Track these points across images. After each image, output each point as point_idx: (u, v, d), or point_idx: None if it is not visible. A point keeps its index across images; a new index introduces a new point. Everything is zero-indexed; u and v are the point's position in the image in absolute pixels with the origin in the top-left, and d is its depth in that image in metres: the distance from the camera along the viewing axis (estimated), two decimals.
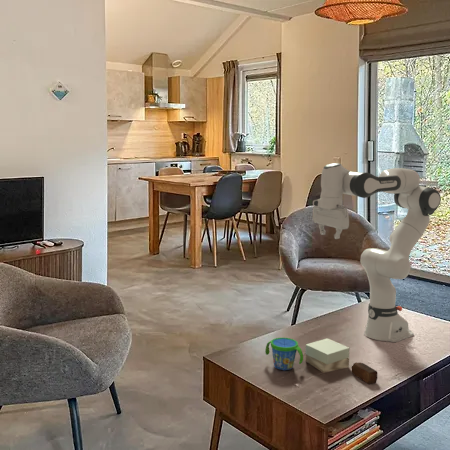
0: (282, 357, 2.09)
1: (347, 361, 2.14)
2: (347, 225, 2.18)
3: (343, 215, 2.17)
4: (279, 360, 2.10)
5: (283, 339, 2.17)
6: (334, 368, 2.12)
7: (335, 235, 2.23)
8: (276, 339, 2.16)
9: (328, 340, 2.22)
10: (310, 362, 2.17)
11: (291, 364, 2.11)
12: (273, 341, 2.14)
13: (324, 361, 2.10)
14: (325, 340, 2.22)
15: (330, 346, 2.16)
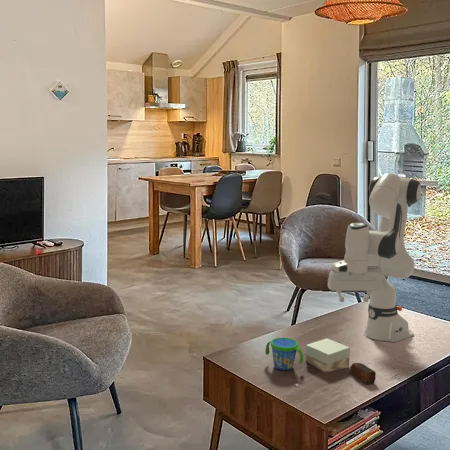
0: (282, 357, 2.09)
1: (347, 361, 2.15)
2: None
3: None
4: (279, 360, 2.10)
5: (283, 339, 2.17)
6: (334, 368, 2.12)
7: (366, 298, 2.09)
8: (276, 339, 2.16)
9: (328, 340, 2.22)
10: (310, 362, 2.17)
11: (291, 364, 2.11)
12: (273, 341, 2.14)
13: (325, 361, 2.10)
14: (325, 340, 2.22)
15: (331, 346, 2.16)
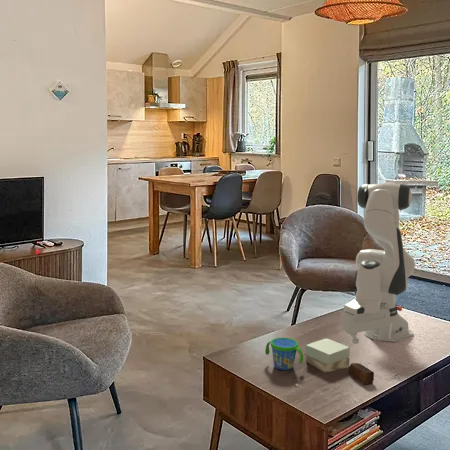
0: (282, 357, 2.09)
1: (347, 361, 2.14)
2: None
3: None
4: (279, 360, 2.10)
5: (283, 339, 2.17)
6: (335, 368, 2.12)
7: (377, 336, 2.04)
8: (276, 339, 2.16)
9: (327, 340, 2.22)
10: (310, 362, 2.17)
11: (291, 364, 2.11)
12: (273, 341, 2.14)
13: (325, 361, 2.10)
14: (324, 340, 2.22)
15: (331, 346, 2.16)
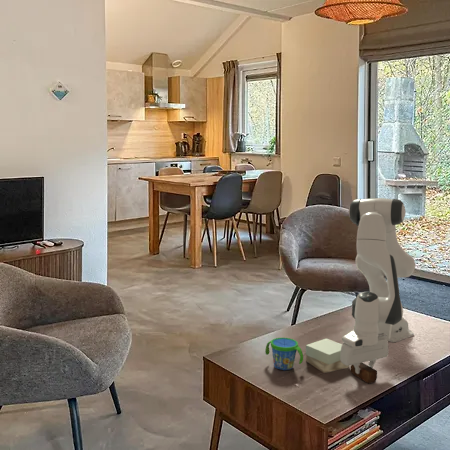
0: (282, 357, 2.09)
1: None
2: None
3: None
4: (279, 360, 2.10)
5: (283, 339, 2.17)
6: (334, 368, 2.12)
7: (371, 367, 2.06)
8: (276, 339, 2.16)
9: (327, 340, 2.23)
10: (310, 362, 2.17)
11: (291, 364, 2.11)
12: (273, 341, 2.14)
13: (325, 361, 2.10)
14: (324, 340, 2.22)
15: (331, 346, 2.16)
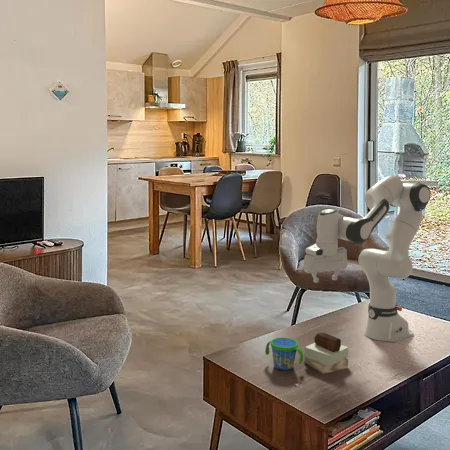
0: (282, 357, 2.09)
1: (346, 362, 2.14)
2: None
3: None
4: (279, 360, 2.10)
5: (283, 339, 2.17)
6: (333, 369, 2.11)
7: (336, 277, 2.31)
8: (276, 339, 2.16)
9: None
10: (309, 363, 2.16)
11: (291, 364, 2.11)
12: (273, 341, 2.14)
13: (327, 363, 2.09)
14: None
15: None
